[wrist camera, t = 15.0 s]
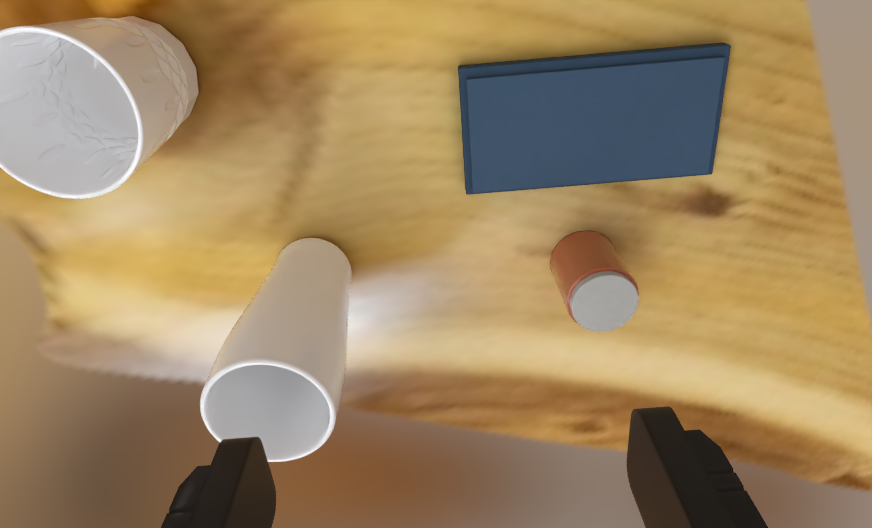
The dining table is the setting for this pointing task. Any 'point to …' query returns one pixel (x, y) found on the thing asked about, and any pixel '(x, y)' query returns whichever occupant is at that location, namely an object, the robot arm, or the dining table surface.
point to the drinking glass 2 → (285, 356)
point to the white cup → (89, 101)
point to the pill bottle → (594, 281)
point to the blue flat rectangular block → (592, 118)
